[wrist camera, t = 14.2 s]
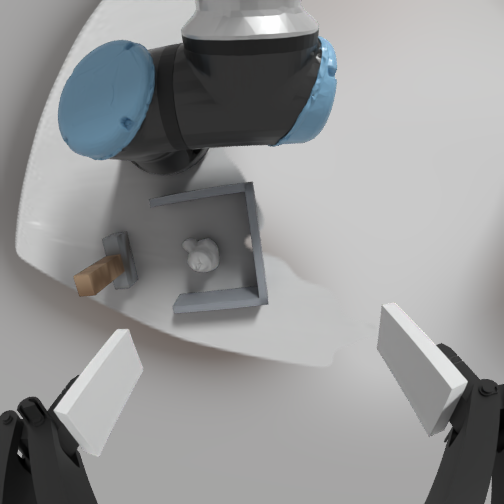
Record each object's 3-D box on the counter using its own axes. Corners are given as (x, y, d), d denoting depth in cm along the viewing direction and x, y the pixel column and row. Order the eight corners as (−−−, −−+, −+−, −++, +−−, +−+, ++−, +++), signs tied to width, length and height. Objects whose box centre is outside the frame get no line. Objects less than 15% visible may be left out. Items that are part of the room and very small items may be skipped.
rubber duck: (208, 274, 46) (199, 293, 38) (178, 248, 45) (163, 262, 37) (229, 251, 45) (223, 267, 37) (199, 224, 43) (187, 234, 36)
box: (160, 196, 42) (149, 199, 37) (252, 181, 42) (252, 181, 37) (181, 300, 47) (174, 313, 42) (267, 291, 46) (268, 304, 41)
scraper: (113, 233, 44) (67, 255, 31) (126, 231, 44) (82, 252, 30) (124, 281, 46) (86, 315, 33) (138, 279, 46) (101, 315, 33)
